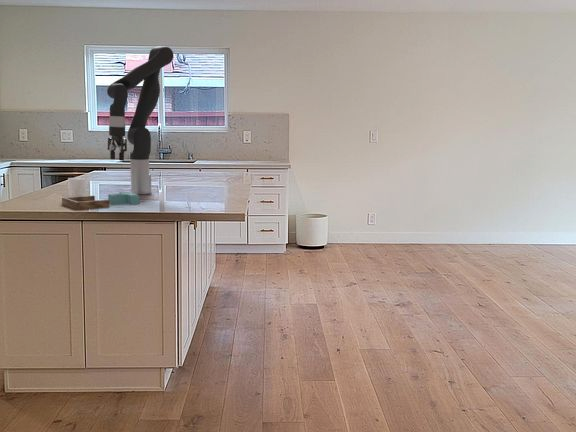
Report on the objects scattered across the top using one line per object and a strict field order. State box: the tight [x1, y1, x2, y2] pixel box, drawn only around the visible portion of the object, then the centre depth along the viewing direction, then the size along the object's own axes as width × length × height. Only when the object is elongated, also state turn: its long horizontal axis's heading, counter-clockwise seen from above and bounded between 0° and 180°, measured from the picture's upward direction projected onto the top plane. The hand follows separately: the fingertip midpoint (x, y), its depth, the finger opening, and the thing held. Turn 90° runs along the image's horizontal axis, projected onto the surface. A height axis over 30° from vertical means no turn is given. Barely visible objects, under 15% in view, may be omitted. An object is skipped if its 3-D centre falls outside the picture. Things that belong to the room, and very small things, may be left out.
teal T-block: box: [107, 191, 140, 205], centre depth 276 cm, size 11×12×4 cm
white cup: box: [67, 177, 87, 197], centre depth 282 cm, size 8×8×10 cm
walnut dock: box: [61, 195, 111, 210], centre depth 266 cm, size 14×17×3 cm
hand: (117, 159), depth 298 cm, fingers open, 8 cm apart
